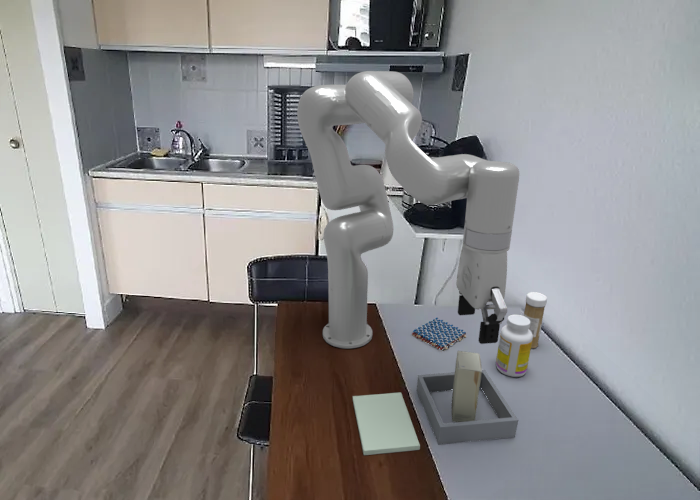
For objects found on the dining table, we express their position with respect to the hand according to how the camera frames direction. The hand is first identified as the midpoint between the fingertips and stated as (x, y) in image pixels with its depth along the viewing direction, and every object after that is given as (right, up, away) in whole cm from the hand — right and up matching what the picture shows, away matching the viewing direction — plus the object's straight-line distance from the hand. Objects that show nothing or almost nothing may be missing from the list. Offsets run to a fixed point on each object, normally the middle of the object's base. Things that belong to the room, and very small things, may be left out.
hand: (476, 327), depth 79 cm
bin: (-1, -18, +8) cm, 20 cm away
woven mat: (0, -9, +33) cm, 34 cm away
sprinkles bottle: (+21, -10, +30) cm, 38 cm away
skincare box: (-1, -18, +8) cm, 20 cm away
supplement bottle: (+14, -13, +21) cm, 28 cm away
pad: (-16, -19, +5) cm, 25 cm away
